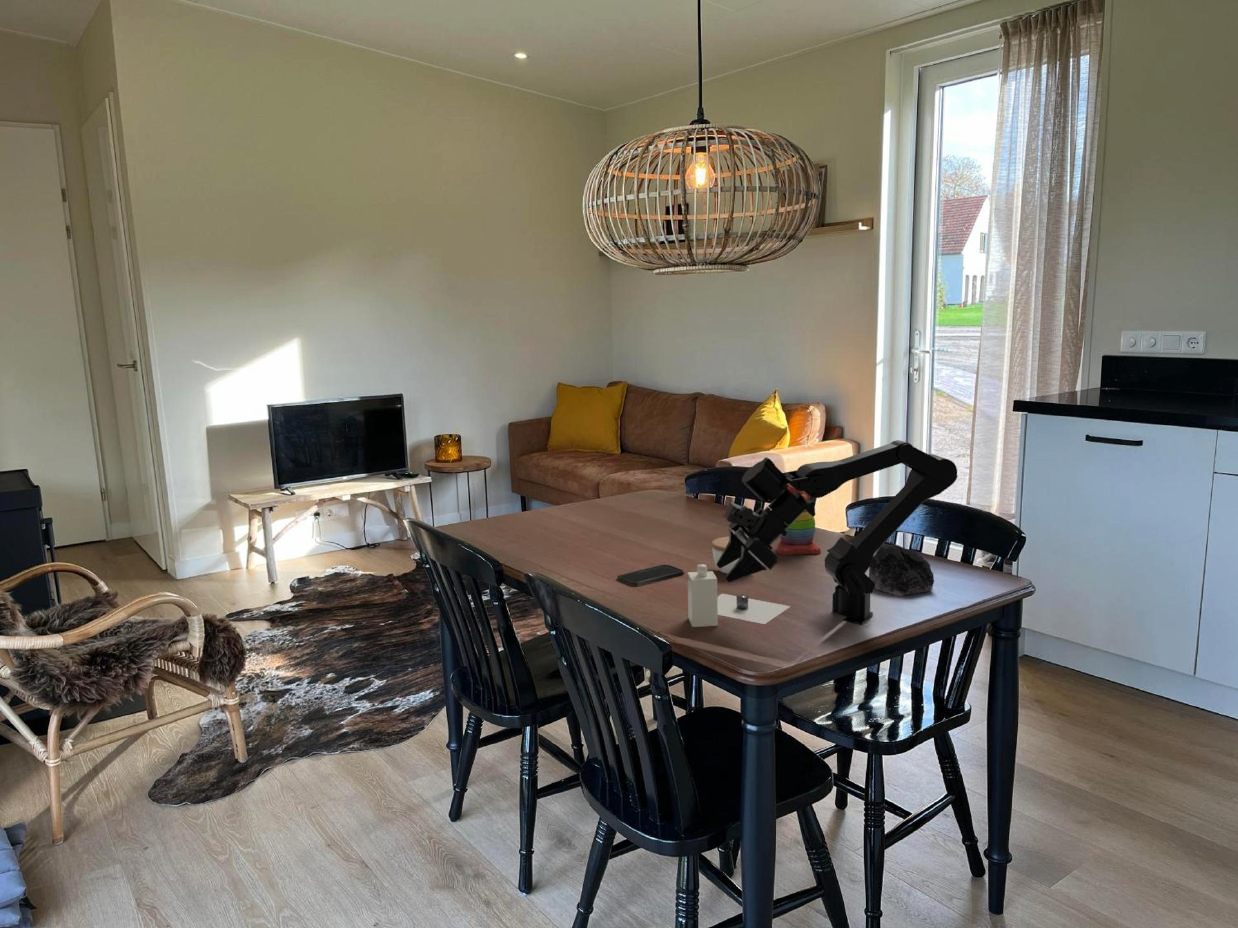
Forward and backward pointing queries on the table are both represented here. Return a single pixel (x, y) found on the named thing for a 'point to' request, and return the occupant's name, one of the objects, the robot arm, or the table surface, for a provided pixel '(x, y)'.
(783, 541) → the stacking bear
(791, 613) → the table surface
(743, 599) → the metal post
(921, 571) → the dark rough rock
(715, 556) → the lidded jar
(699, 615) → the white knobbed block
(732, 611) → the stone board
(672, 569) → the phone
